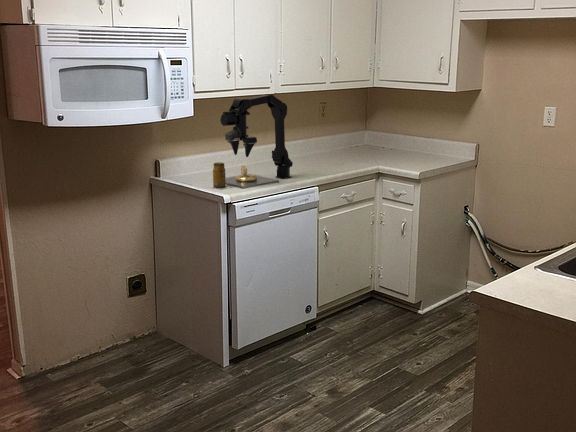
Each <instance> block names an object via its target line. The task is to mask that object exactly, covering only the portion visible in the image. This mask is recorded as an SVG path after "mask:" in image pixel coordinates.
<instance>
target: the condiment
mask: <svg viewBox="0 0 576 432" xmlns="http://www.w3.org/2000/svg"><path fill="white" fill-rule="evenodd" d="M225 178H226V168H225V163H224V162H214V163H213V169H212V186H211V185H210V188H214V189H219V190H225V189H229V188H231V186H230V185H226V182H225Z"/></svg>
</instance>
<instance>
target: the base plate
mask: <svg viewBox="0 0 576 432" xmlns="http://www.w3.org/2000/svg"><path fill="white" fill-rule="evenodd" d="M247 175H254V174H252V173H247ZM255 175H256V174H255ZM236 176H237V175H233V176H229V177H225V182H226V185H225V186H229V187H235V188H237V189H249V188H255V187H259V186H260V187H261V186H265V185H271V184H277V183H280V180H279V179H275V178H270V177H266V176H261V175H256V176H257V180H255V181H237V180H236Z"/></svg>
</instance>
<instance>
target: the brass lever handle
mask: <svg viewBox="0 0 576 432" xmlns="http://www.w3.org/2000/svg"><path fill="white" fill-rule="evenodd" d="M240 168H241V169H240V174H238V175H235V176H236V180H237V181H255V180H257V176H258V175H257V176H256V174H253V175H247V174H248V167H247V166H245V165H241V166H240Z"/></svg>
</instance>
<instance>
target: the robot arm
mask: <svg viewBox="0 0 576 432" xmlns="http://www.w3.org/2000/svg"><path fill="white" fill-rule="evenodd" d="M265 104H266V105H267V106H268V108H269V109H270V111H271V112H270V113H271V116H272V117H273V120H274V136H275V137H274V139H275V144H274V145H275V148H274V150H271V159H272V161H273V163H274V166H275V167H277V168H276V175H275V178H276V179H282V180H285V179H291V178H292V176H291V173H290V172H291V170H290V168H291V167H293V161H292V160H291V158H290V157H289V152H288V150H287V147H286V137H285V135H286V133H285V132H286V131H285V119H286V117H287V115H288V105H287V104H286V103H285V102H283V101H281V100H280V99H279V98H277V97H276V96H275V95H274V94H272V93H271V94H269V93H265V94H263V95H259V96H254V97H250V98H241V97H240V98H234V99H233V101H232V104H231V106H230V108H229V109H228V111H222V114H221V116H220V124H221V125H222V126H223V127H228V126H232V130H229V131H228V132H226V133H225V134H224V137H225V141H227V143H229V144H230V145H231V148H232V151H233V154H234V155H235V156H237V154H238V151H239V145H240V141H242V145H243V146H244V150H245V157H246V158H249V155H250V154H251V151H252V149H253V147H254V145H256V144H257V143H258V138H257V137H256V136H249V134H248V133H247V129H249V126H247V124H248V123H247V116H249V115H251V114H250V112H249V111H248V110H249V109H252V107H256V106H259V105H265Z"/></svg>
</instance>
